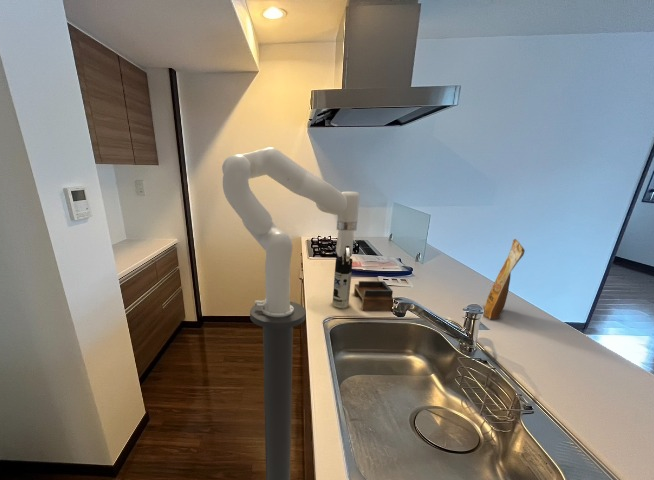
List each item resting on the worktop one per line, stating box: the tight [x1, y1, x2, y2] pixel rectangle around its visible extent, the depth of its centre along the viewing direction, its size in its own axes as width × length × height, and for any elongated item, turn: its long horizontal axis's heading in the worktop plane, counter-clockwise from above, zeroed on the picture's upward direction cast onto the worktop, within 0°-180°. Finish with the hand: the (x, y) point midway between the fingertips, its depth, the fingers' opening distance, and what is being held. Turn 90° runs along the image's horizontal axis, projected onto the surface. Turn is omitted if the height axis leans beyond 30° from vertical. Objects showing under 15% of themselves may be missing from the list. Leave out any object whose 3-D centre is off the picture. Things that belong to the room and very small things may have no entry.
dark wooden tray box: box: [353, 280, 395, 312], centre depth 135 cm, size 12×18×7 cm, turn 177°
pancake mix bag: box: [484, 238, 525, 320], centre depth 119 cm, size 7×19×28 cm, turn 145°
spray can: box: [332, 257, 354, 309], centre depth 129 cm, size 7×7×20 cm
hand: (343, 270), depth 127 cm, fingers closed on spray can, 6 cm apart
